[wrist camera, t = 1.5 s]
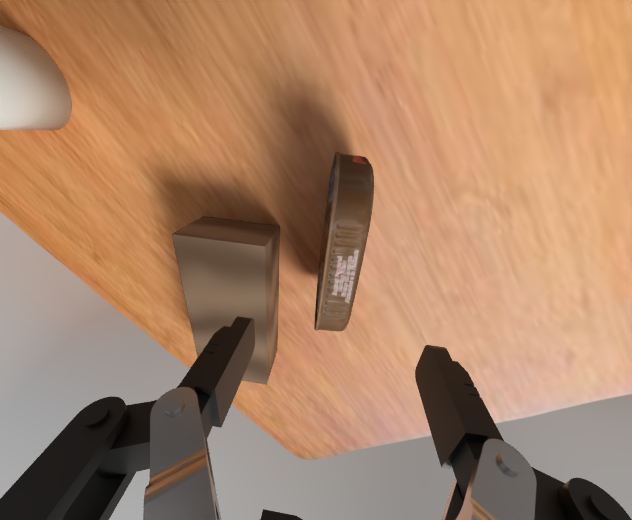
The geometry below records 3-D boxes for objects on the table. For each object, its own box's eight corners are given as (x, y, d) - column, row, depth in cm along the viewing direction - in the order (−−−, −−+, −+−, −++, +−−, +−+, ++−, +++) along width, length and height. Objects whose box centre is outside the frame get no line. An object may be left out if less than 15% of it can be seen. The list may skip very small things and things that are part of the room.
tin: (333, 148, 20) (327, 155, 13) (370, 153, 20) (386, 162, 13) (315, 292, 27) (305, 350, 20) (343, 296, 27) (342, 356, 20)
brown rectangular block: (203, 216, 24) (171, 234, 20) (279, 226, 24) (265, 246, 19) (220, 341, 33) (201, 373, 28) (277, 350, 32) (266, 384, 28)
